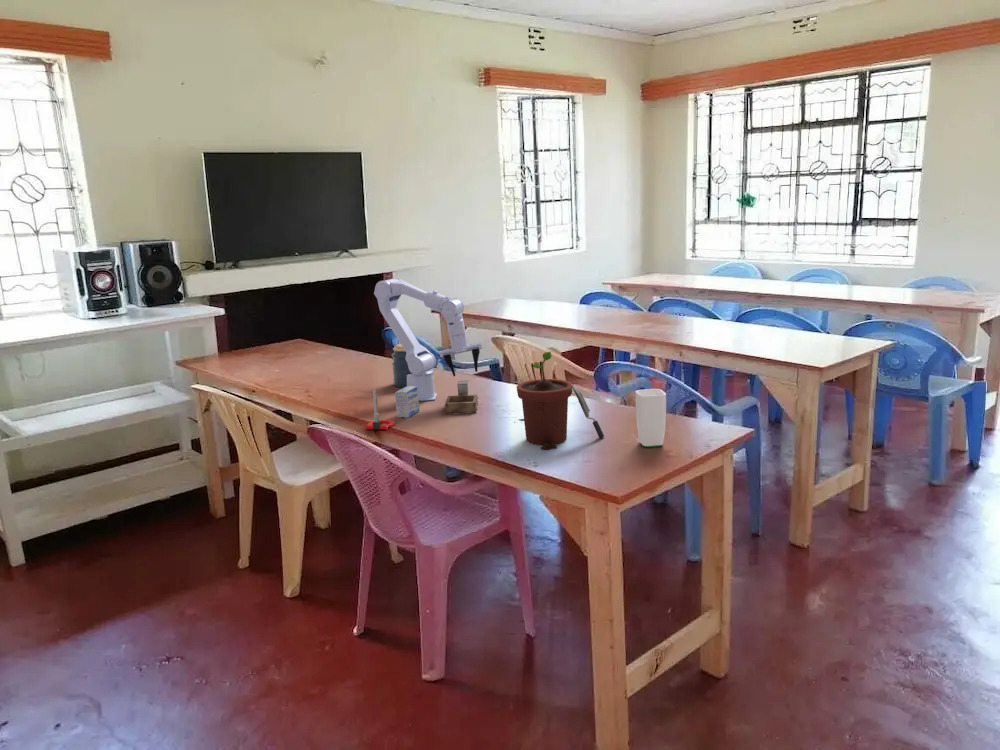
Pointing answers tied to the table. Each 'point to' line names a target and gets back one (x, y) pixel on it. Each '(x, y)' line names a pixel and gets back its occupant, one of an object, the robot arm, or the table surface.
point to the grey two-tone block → (463, 387)
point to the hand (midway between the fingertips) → (465, 373)
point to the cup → (651, 416)
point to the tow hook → (377, 423)
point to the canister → (400, 366)
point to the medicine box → (407, 401)
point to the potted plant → (549, 409)
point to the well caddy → (461, 404)
